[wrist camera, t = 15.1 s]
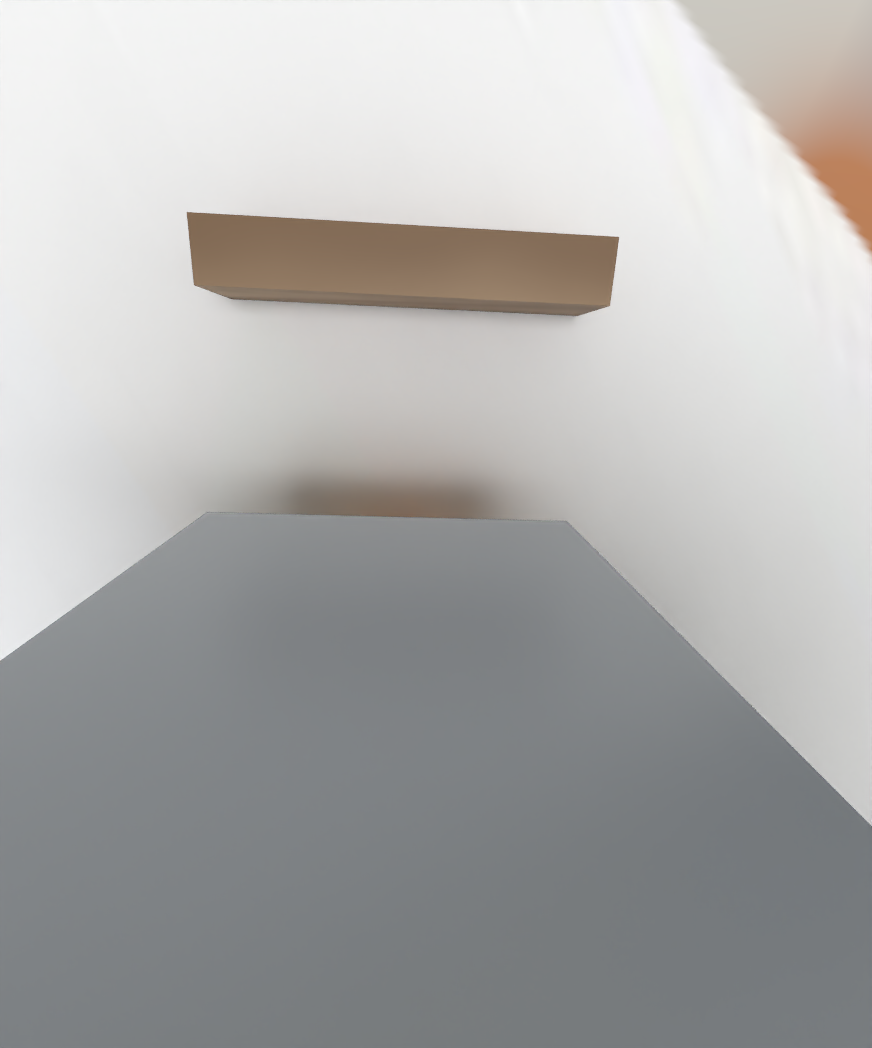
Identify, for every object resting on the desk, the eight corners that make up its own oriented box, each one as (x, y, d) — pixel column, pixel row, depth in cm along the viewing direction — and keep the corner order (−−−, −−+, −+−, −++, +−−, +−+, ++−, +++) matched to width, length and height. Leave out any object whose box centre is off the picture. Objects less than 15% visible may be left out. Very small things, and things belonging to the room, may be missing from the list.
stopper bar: (577, 315, 14) (609, 305, 12) (231, 298, 14) (194, 285, 12) (584, 259, 14) (619, 237, 12) (227, 239, 13) (186, 211, 11)
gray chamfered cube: (531, 795, 13) (743, 1551, 5) (237, 797, 13) (-99, 1634, 4) (566, 520, 11) (1105, 1061, 2) (207, 512, 10) (-663, 1137, 2)
